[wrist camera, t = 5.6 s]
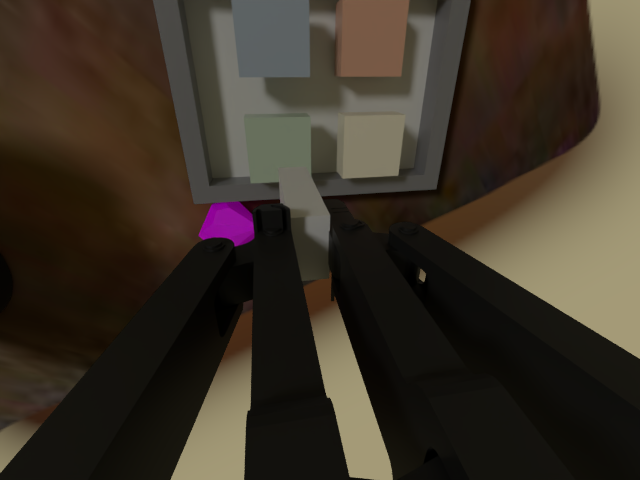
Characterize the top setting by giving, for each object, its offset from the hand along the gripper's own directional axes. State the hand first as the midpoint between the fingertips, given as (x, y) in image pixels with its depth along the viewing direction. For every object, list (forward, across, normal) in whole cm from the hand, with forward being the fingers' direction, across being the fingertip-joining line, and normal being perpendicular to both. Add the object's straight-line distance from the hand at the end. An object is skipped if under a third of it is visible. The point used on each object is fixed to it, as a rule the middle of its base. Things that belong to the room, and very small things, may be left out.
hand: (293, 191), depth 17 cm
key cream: (+13, +8, 0) cm, 15 cm away
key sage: (+13, 0, 0) cm, 13 cm away
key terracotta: (+14, +8, +8) cm, 18 cm away
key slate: (+13, 0, +8) cm, 15 cm away
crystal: (+16, -6, -8) cm, 19 cm away
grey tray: (+15, +4, +4) cm, 16 cm away
